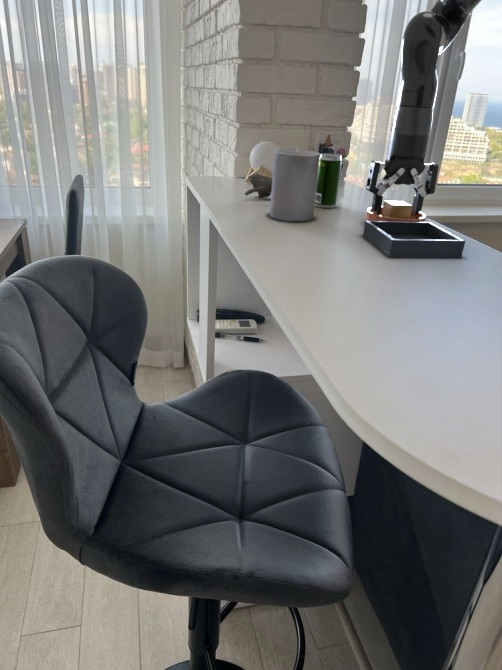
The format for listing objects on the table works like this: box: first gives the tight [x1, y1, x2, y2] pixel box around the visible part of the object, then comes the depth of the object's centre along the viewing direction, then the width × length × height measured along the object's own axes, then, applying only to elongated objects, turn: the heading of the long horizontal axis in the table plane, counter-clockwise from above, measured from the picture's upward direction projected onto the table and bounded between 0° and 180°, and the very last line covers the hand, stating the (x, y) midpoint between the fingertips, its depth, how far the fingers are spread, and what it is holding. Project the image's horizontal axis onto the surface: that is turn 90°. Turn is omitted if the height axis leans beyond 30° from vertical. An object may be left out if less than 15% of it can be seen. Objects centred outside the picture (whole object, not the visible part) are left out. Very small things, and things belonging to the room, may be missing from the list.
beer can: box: [315, 152, 343, 209], centre depth 121 cm, size 5×5×12 cm
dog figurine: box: [244, 173, 272, 198], centre depth 127 cm, size 12×6×7 cm, turn 91°
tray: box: [362, 220, 466, 259], centre depth 94 cm, size 14×14×3 cm
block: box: [382, 200, 412, 219], centre depth 107 cm, size 4×4×4 cm
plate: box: [364, 205, 427, 222], centre depth 108 cm, size 12×12×3 cm
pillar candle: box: [269, 144, 321, 222], centre depth 108 cm, size 10×10×15 cm
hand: (395, 213), depth 107 cm, fingers open, 8 cm apart
